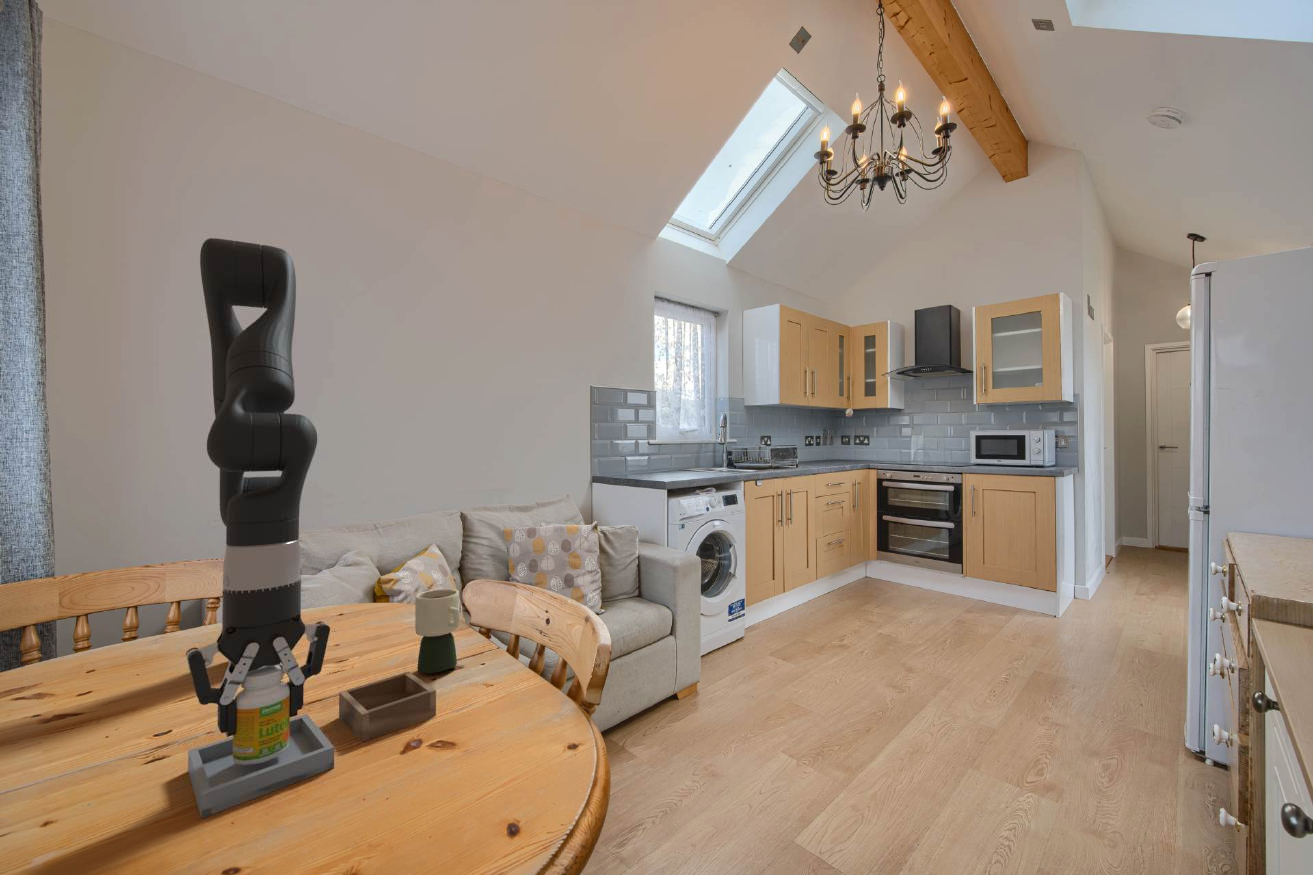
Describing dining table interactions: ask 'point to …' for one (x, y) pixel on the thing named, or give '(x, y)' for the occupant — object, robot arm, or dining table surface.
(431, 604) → the character mug
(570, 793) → the dining table surface
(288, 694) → the supplement bottle
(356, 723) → the holder
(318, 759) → the tray
